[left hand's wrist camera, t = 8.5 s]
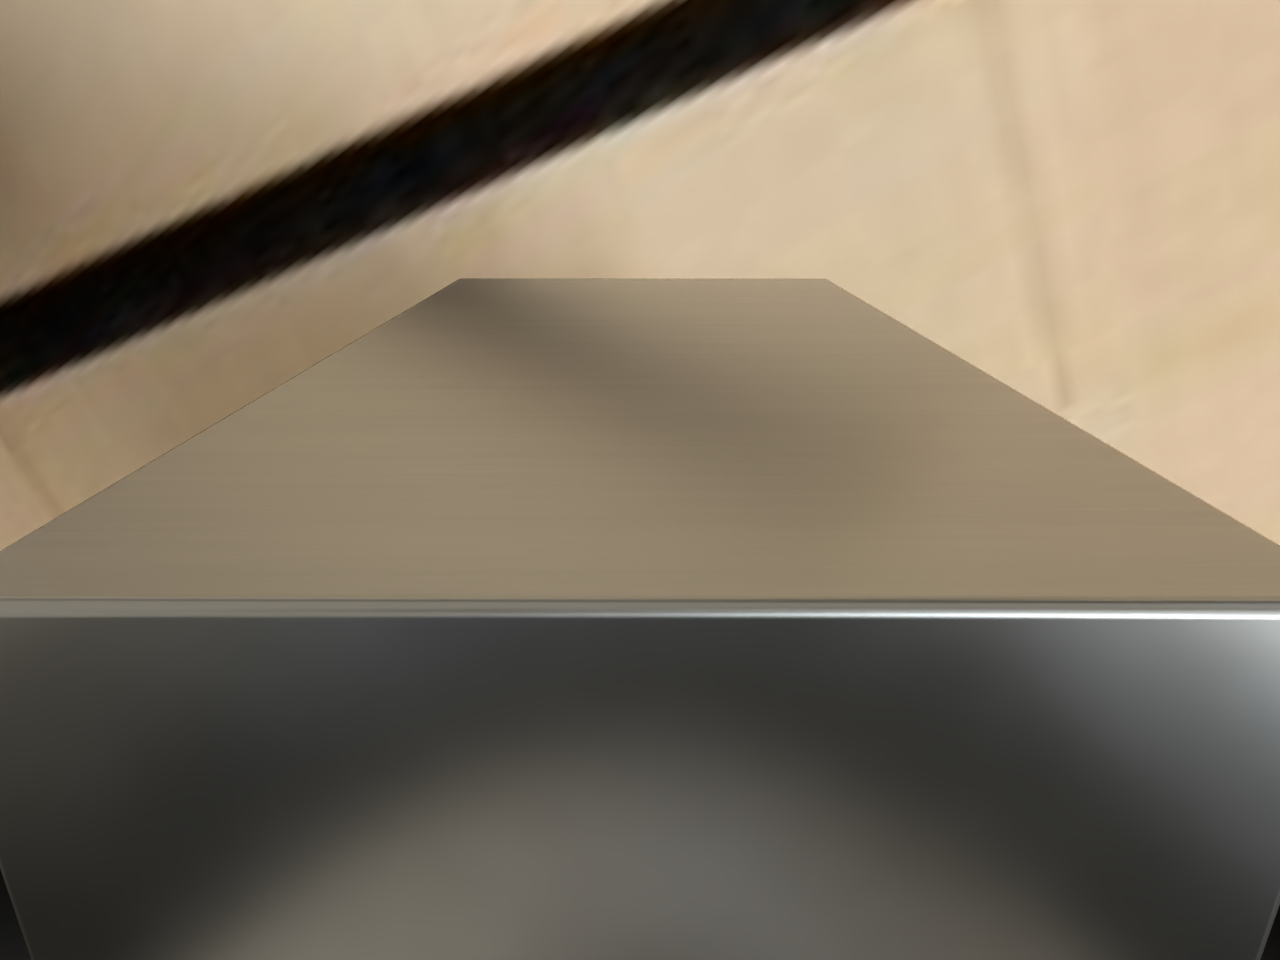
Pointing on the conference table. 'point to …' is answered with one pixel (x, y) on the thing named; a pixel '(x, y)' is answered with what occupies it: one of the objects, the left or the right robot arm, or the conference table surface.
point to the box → (641, 659)
